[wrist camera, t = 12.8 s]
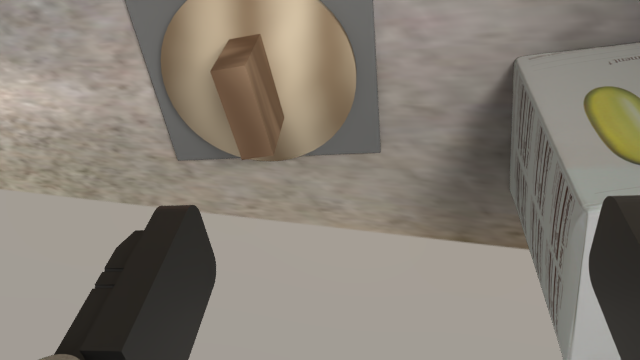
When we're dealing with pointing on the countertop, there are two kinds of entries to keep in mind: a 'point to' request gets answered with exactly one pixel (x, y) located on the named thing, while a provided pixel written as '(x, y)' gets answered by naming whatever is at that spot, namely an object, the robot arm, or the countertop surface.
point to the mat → (353, 137)
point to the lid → (259, 75)
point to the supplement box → (573, 175)
